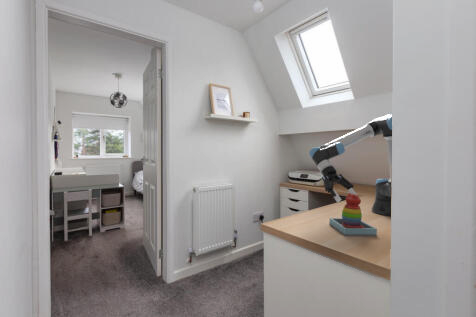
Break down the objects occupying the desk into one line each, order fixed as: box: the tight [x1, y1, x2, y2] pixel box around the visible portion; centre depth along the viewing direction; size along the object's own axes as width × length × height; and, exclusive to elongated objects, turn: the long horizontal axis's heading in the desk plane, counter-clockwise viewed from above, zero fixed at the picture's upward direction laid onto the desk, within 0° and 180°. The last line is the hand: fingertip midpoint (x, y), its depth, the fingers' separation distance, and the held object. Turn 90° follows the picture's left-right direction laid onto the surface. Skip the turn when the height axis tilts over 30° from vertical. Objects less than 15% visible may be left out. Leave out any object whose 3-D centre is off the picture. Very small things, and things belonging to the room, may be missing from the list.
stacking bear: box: [341, 192, 364, 228], centre depth 121 cm, size 11×10×18 cm
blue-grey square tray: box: [328, 217, 378, 237], centre depth 121 cm, size 16×17×4 cm
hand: (348, 200), depth 122 cm, fingers open, 13 cm apart
